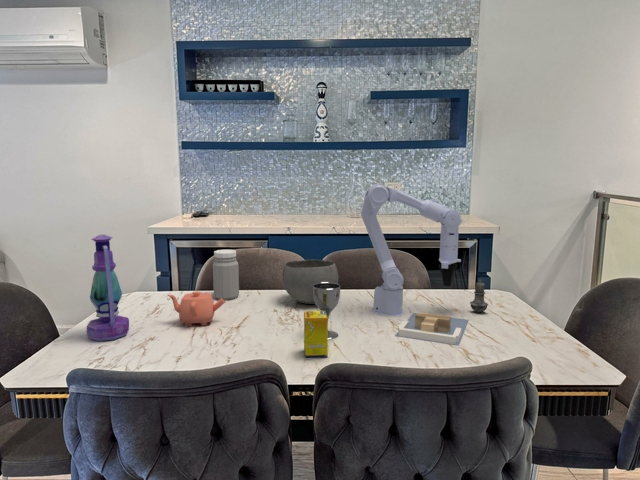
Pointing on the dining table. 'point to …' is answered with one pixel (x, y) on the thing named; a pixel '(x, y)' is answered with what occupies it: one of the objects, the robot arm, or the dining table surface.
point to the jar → (225, 275)
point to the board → (454, 324)
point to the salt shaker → (479, 298)
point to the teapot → (196, 308)
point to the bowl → (307, 277)
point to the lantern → (105, 295)
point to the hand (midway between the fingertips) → (447, 285)
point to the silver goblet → (327, 299)
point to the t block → (432, 322)
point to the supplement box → (315, 334)
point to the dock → (428, 334)
